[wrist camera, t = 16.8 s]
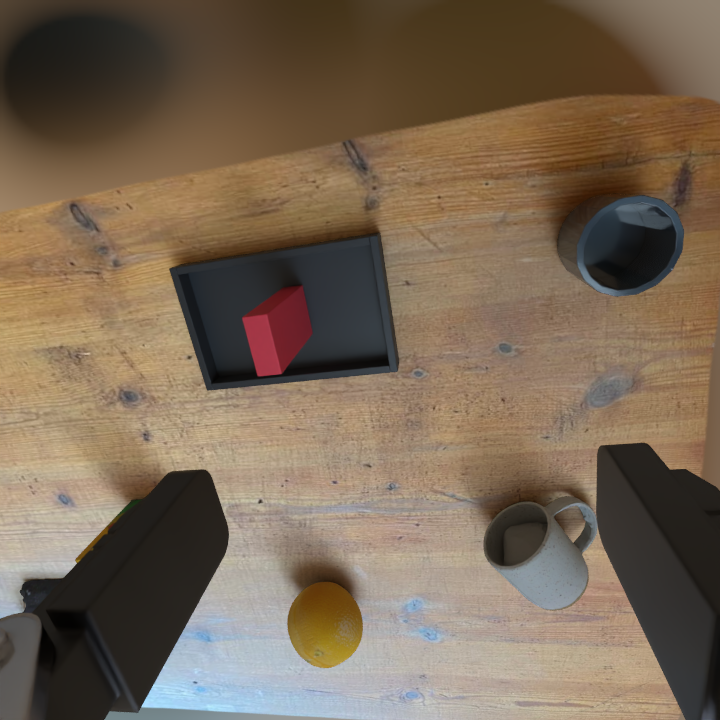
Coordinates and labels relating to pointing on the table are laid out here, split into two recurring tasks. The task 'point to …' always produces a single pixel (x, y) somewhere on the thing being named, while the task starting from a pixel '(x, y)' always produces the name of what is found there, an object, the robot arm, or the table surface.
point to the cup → (621, 242)
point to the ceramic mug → (541, 551)
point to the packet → (278, 330)
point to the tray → (324, 302)
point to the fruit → (325, 624)
